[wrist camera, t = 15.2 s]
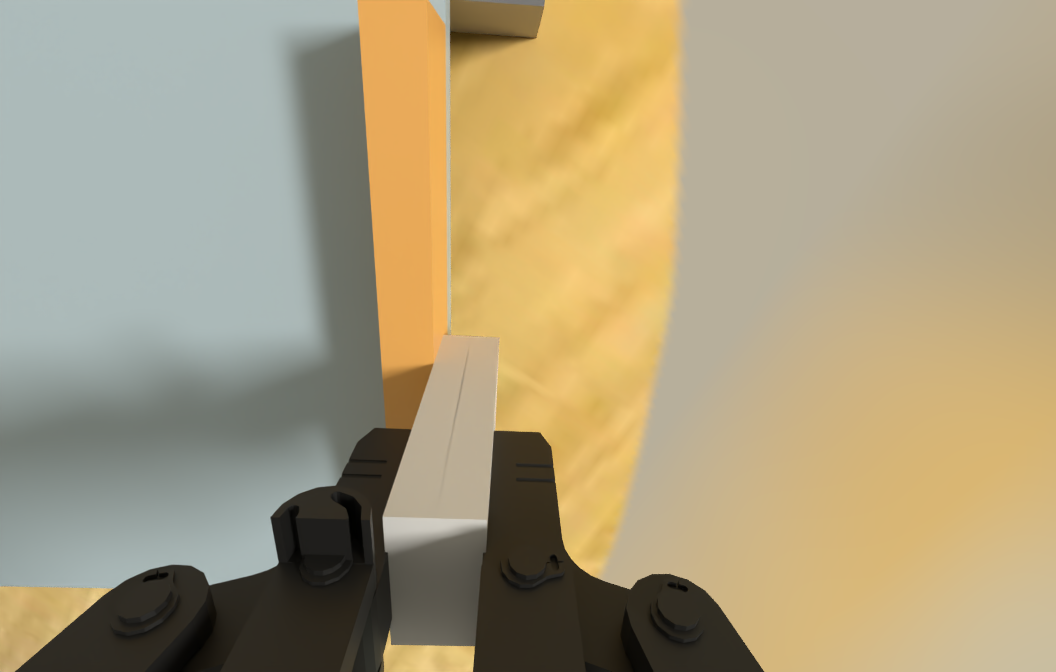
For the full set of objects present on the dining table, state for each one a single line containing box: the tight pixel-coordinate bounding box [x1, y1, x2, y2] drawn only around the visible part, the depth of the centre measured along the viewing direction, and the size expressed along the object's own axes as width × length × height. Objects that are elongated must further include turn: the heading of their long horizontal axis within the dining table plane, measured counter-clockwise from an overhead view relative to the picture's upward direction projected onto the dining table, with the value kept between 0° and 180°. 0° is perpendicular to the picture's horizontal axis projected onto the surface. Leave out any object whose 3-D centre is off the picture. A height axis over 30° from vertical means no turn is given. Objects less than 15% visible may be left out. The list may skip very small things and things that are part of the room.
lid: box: [0, 0, 451, 588], centre depth 13 cm, size 18×20×3 cm
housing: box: [450, 0, 545, 38], centre depth 16 cm, size 29×20×4 cm
